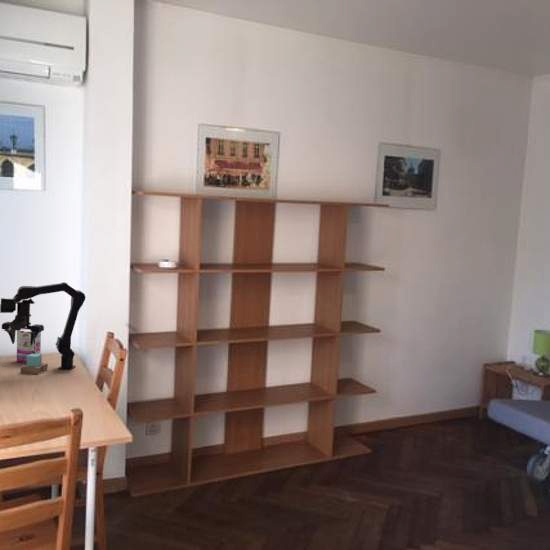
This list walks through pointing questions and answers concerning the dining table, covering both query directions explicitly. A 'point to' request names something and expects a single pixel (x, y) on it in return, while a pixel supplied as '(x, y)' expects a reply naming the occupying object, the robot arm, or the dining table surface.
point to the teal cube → (34, 360)
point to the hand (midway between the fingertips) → (22, 344)
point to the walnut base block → (34, 368)
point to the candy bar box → (27, 345)
